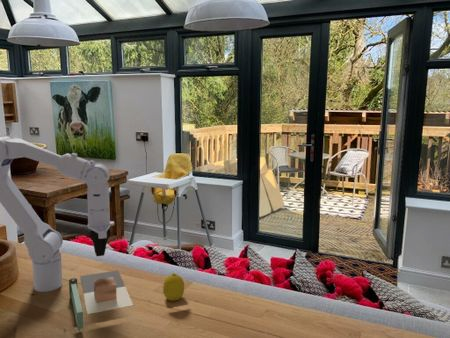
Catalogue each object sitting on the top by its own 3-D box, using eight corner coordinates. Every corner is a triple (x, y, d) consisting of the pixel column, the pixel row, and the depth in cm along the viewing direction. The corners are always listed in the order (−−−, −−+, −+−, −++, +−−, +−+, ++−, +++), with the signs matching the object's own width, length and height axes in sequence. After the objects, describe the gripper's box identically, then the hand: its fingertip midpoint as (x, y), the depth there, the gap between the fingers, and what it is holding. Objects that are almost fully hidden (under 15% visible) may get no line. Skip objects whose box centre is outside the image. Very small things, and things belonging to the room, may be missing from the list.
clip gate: (76, 297, 98) (76, 283, 97) (83, 328, 84) (82, 311, 84) (71, 298, 97) (71, 284, 96) (77, 329, 84) (77, 312, 83)
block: (94, 294, 101) (93, 279, 100) (113, 290, 103) (113, 276, 102) (96, 302, 96) (96, 288, 96) (116, 299, 98) (116, 284, 98)
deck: (80, 279, 111) (80, 276, 111) (118, 273, 116) (118, 270, 116) (87, 317, 91) (87, 314, 91) (133, 308, 96) (133, 305, 96)
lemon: (184, 296, 103) (185, 269, 101) (183, 307, 97) (183, 278, 96) (164, 296, 102) (164, 268, 101) (161, 307, 97) (161, 277, 96)
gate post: (69, 300, 99) (68, 279, 98) (77, 299, 100) (76, 277, 99) (70, 304, 97) (69, 282, 96) (78, 302, 98) (77, 280, 97)
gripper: (118, 213, 99) (119, 262, 101) (109, 200, 112) (110, 244, 114) (89, 216, 96) (91, 266, 98) (84, 202, 109) (86, 247, 111)
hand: (100, 255), depth 106 cm, fingers closed
